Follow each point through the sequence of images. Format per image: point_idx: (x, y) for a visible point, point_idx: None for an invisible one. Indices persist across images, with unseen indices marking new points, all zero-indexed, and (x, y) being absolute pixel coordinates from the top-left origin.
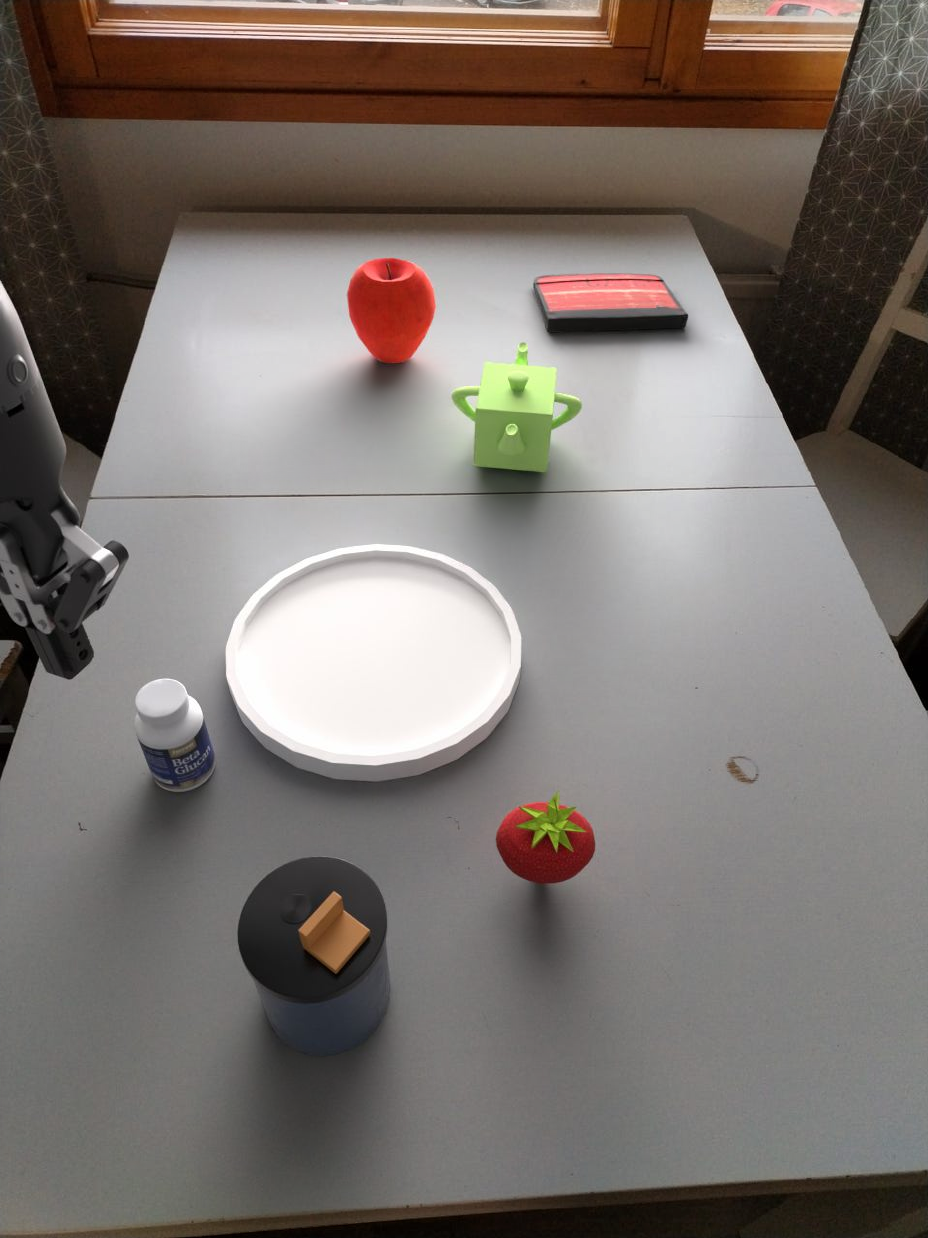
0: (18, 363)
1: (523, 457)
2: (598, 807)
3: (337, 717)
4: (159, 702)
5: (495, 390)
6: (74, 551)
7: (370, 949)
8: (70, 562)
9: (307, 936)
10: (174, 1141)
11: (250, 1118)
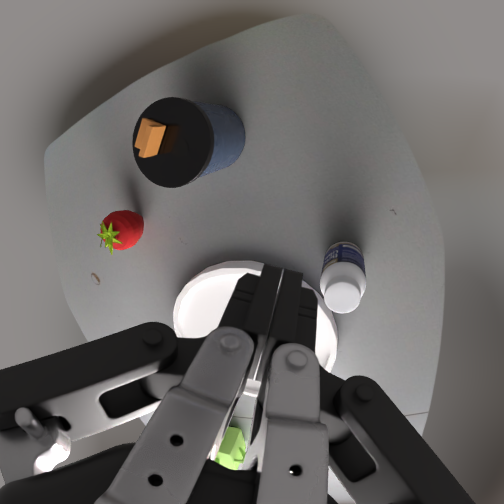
0: None
1: None
2: (130, 256)
3: None
4: (341, 294)
5: (225, 459)
6: (11, 455)
7: (136, 138)
8: (42, 445)
9: (147, 125)
10: (260, 52)
11: (228, 71)
